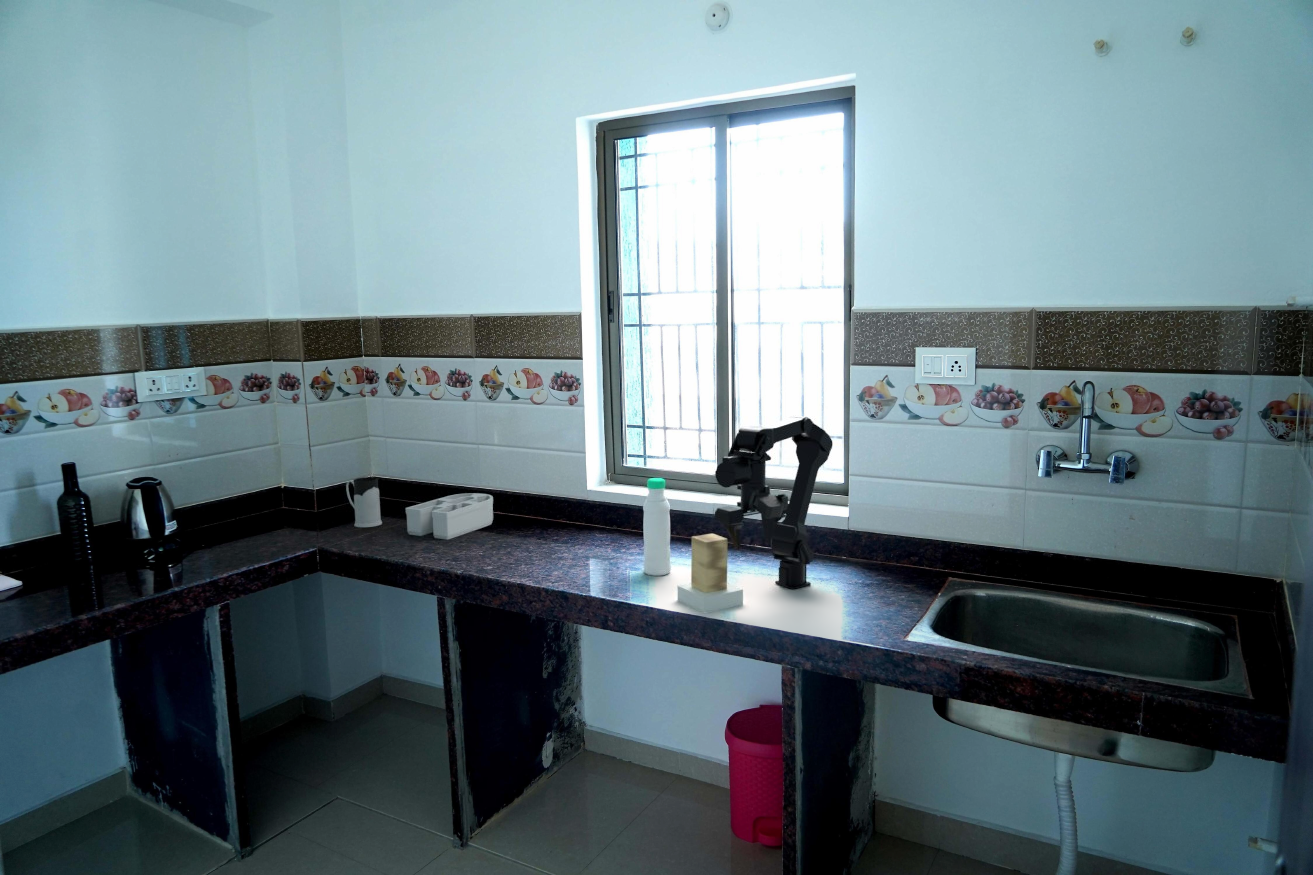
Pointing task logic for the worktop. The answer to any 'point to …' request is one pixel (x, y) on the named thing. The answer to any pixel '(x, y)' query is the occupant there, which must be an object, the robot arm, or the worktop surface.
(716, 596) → the grey base block
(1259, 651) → the worktop surface
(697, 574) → the honey wood block
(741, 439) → the robot arm
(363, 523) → the white and grey pitcher
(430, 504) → the white compartment organizer
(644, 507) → the water bottle
